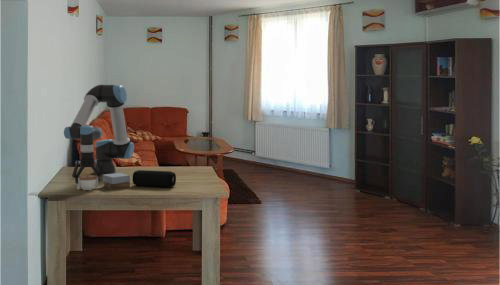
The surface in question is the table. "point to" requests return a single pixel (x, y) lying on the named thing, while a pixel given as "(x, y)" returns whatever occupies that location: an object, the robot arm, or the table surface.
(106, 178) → the tower top
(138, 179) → the portable speaker
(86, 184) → the lidded jar
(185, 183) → the table surface
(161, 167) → the table surface
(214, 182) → the table surface
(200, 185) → the table surface
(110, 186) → the tower base
